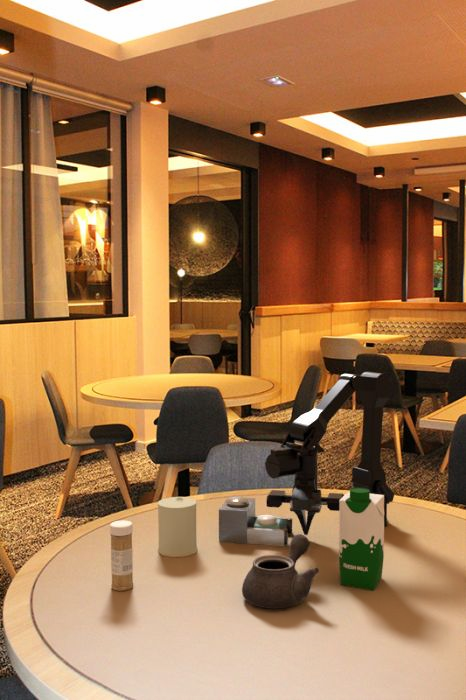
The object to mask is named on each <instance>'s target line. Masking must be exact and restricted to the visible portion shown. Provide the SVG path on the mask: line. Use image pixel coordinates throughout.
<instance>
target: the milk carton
mask: <svg viewBox="0 0 466 700" xmlns="http://www.w3.org/2000/svg"><path fill="white" fill-rule="evenodd" d="M338 512H339V518H338V519H339V521H338V524H339V526H338V528H339V530H338V535H339V537H338V539H339V540H338V544H339V545H338V547H339V549H338V550H339V551H338V560H339V561H338V564H339V578H340V579H339V581H340V586H341V585H342V586H345V587H351V588H358V589H363V590H369V591H374V590H375V589H376V587H378V586H377V585H378V584H379V583H380V581H381V579H382V578H383V577H382V576H383V570H384V569H383V567H384V559H385V558H384V557H385V555H384V554H385V526H384V495H379V494H370V490H369V489H366V488H353V487H351V488H350V489H349V491H348V492H347V493H345V494H344V496H343V497H342V498H341V499H340V500H339V511H338Z"/></svg>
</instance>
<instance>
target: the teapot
mask: <svg viewBox="0 0 466 700" xmlns="http://www.w3.org/2000/svg"><path fill="white" fill-rule="evenodd" d="M309 547H310V541H309V538H308V537H306V535H304V534H301V533H299V534H295V535H294V536H293V537H292V539H291V541H290V543H289V555H288V557H287V556H284V555H279V554H270V555H269V554H267V555H262V556H258V557H256V558H254V559H253V561H252V567H251V568H250V570H249V571H248V572H247V574H246V576H245V578H244V580H243V583H242V587H241V592H242V597H243V598H244V599H245V601H246V602H248V603H249V604H252V605H253V606H256V607H261V608H264V609H284V608H285V609H286V608H289V607H292V606H295V605H297V604H299V603H300V602H302V601H303V600H304V599H305V598H307V597H308V596H309V594H310V591H311V587H312V583H313V580H314V578H315V577H316V576H317V575H319V573H320V569H319V568H318V567H316V566H313V567H311V568H308V569H307V570H305V571H304V572H303V573H299V572H298V571H297V569H296V563H297V562H298V560H299V559H300V558H301V557H302V556H304V555H305V554H306V553H307V551H308V549H309Z"/></svg>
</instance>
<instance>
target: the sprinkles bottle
mask: <svg viewBox="0 0 466 700" xmlns="http://www.w3.org/2000/svg"><path fill="white" fill-rule="evenodd" d="M133 530H134V529H133V523H132V522H131V521H130V520H116V521H113V522H111V523H110V525H109V534H110V545H111V546H110V567H111V568H110V569H111V570H110V572H111V588H112V589H113V590H114V591H120V592H121V591H123V592H124V591H128V590H130V589H132V588H133V587H134V582H133V581H134V580H133V578H134V577H133V572H134V568H133V565H134V564H133V563H134V561H133V559H134V558H133V557H134V555H133V553H134V551H133Z"/></svg>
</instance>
